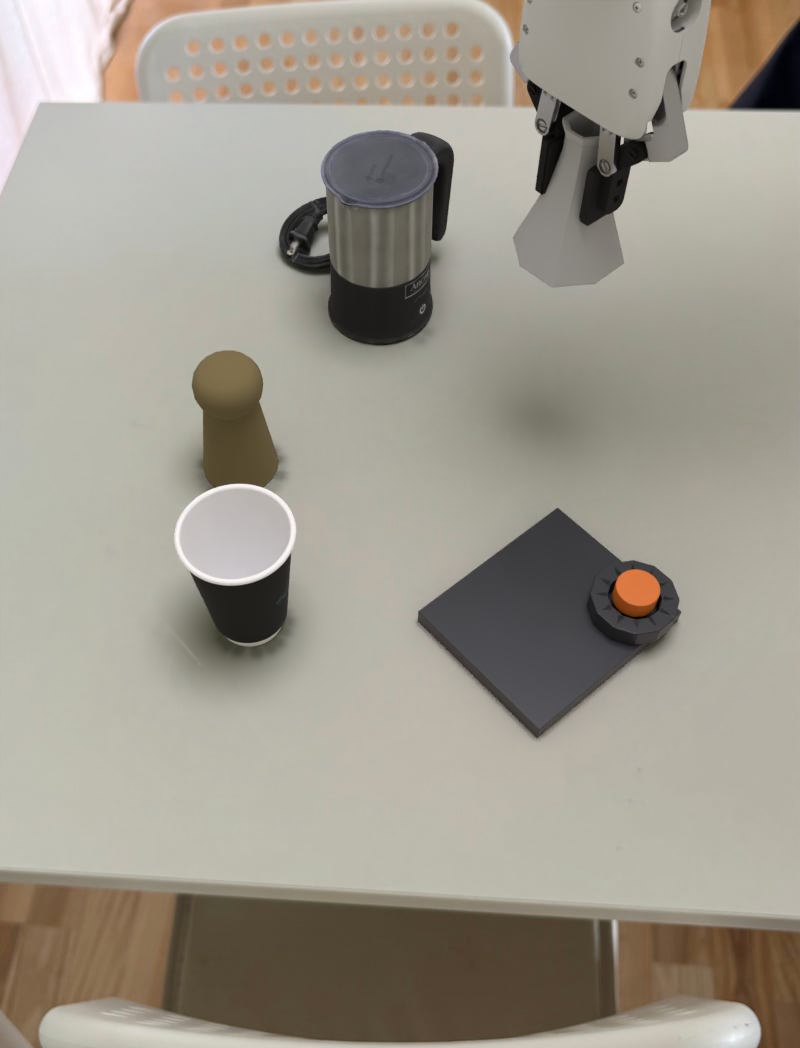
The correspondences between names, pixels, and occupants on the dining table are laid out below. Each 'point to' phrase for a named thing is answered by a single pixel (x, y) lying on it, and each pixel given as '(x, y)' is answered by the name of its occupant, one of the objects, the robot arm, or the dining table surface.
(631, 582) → the power button
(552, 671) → the dark grey base plate
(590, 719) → the dining table surface
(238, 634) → the dixie cup
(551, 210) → the flask
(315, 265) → the milk frother
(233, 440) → the brown pawn
